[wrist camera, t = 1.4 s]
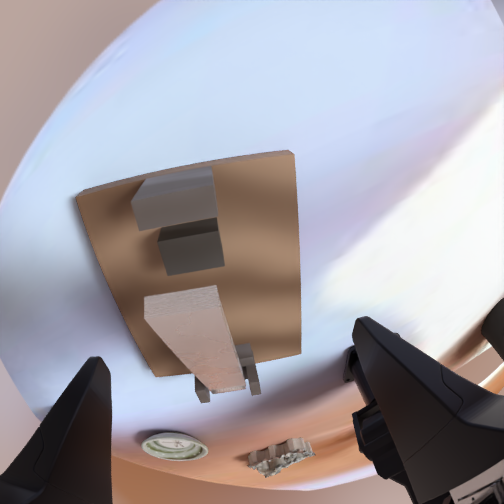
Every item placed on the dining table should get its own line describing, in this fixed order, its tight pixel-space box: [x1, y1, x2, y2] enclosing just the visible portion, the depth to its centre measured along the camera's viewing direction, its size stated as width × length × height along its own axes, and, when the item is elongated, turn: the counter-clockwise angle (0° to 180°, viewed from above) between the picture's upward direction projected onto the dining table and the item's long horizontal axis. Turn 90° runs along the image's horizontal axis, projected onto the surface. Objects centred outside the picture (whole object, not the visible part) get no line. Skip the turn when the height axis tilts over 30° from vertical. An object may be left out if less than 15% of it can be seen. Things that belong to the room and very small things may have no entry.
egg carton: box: [247, 438, 316, 478], centre depth 40 cm, size 11×8×4 cm
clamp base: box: [76, 150, 301, 403], centre depth 20 cm, size 18×14×6 cm
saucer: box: [141, 432, 208, 461], centre depth 34 cm, size 10×10×2 cm
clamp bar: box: [144, 285, 246, 394], centre depth 17 cm, size 16×3×1 cm, turn 7°
